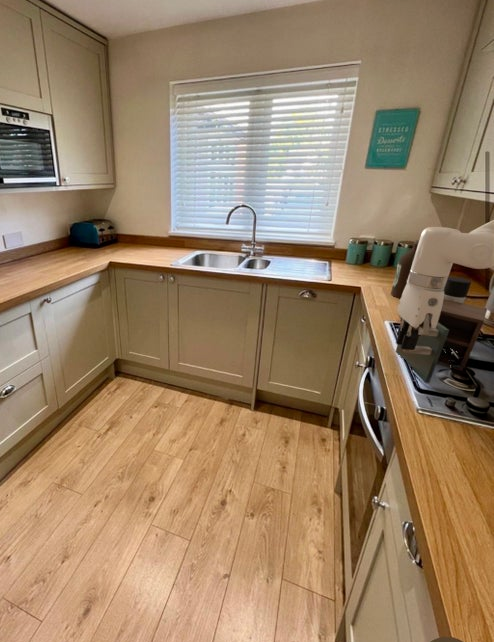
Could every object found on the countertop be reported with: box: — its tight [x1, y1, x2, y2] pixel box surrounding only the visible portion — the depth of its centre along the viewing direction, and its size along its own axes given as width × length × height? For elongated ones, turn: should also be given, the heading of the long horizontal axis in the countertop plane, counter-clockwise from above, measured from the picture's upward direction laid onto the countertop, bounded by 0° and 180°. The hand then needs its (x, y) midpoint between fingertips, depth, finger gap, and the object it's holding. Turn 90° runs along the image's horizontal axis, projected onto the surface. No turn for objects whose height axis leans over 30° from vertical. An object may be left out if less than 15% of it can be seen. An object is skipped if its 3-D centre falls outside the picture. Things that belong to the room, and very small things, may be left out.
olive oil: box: [390, 239, 420, 300], centre depth 143 cm, size 11×11×25 cm
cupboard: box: [436, 299, 487, 369], centre depth 98 cm, size 12×16×16 cm
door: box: [395, 322, 449, 384], centre depth 91 cm, size 7×16×16 cm, turn 174°
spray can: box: [443, 276, 472, 304], centre depth 110 cm, size 7×7×20 cm
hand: (404, 346), depth 86 cm, fingers closed on door
